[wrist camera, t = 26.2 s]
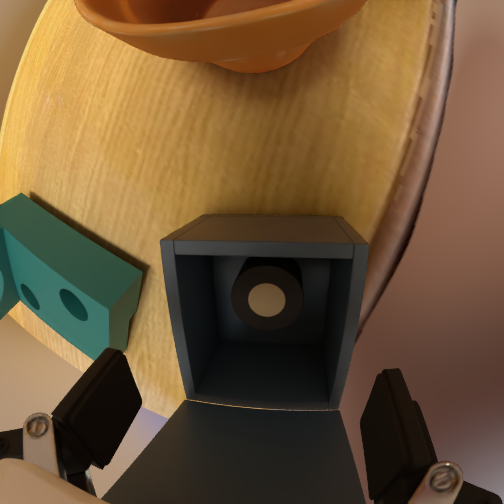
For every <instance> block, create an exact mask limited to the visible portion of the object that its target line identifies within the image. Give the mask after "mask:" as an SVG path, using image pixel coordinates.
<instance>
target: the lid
mask: <svg viewBox="0 0 504 504" xmlns="http://www.w3.org/2000/svg"><path fill="white" fill-rule="evenodd" d="M101 500H103V501H105V502H108V503H110V504H366V502H365V498H364V494H363V490H362V487H361V483H360V479H359V476H358V472H357V468H356V465H355V461H354V458H353V454H352V451H351V447H350V444H349V440H348V437H347V434H346V431H345V427H344V424H343V420H342V417H341V414H340V411H339V410H335V411H288V410H287V411H286V410H267V409H253V408H242V407H233V406H224V405H216V404H209V403H202V402H196V401H190V400H184V401H183V403H182V404H181V405H180V406H179V408H178V409H177V410H176V411H175V412H174V414H173V415H172V416H171V417H170V419H169V420H168V421H167V422H166V424H165V425H164V426H163V428H162V429H161V430H160V431H159V432H158V433H157V435H156V436H155V437H154V438H153V439H152V441H151V442H150V443H149V444H148V446H147V447H146V448H145V449H144V450H143V451H142V453H141V454H140V455H139V456H138V457H137V458H136V460H135V461H134V462H133V463H132V464H131V465H130V467H129V468H128V469H127V470H126V471H125V472H124V473H123V475H122V476H121V477H120V478H119V479H118V480H117V481H116V483H115V484H114V485H113V486H112V487H111V488H110V489H109V490H108V492H107V493H106V494H105V495H104V496H103V497H102V498H101Z"/></svg>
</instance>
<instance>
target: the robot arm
mask: <svg viewBox="0 0 504 504" xmlns="http://www.w3.org/2000/svg"><path fill="white" fill-rule="evenodd" d="M141 405H142V398H141V396H140V393H139V391H138V388H137V386H136V383H135V381H134V378H133V375H132V373H131V370H130V367H129V364H128V361H127V358H126V356H125V355H124V354H123V353H122V351H121V350H118V349H114V348H110V347H107V348H106V349H105V350H104V351H103V352H102V353H101V354H100V355H99V356H98V358H97V359H96V360H95V361H94V362H93V363H92V365H91V366H90V367H89V368H88V369H87V371H86V372H85V373H84V374H83V375H82V377H81V378H80V379H79V380H78V381H77V383H76V384H75V385H74V386H73V387H72V388H71V390H70V391H69V392H68V393H67V395H66V396H65V397H64V398H63V400H62V401H61V402H60V403H59V405H58V406H57V407H56V408H55V410H54V411H53V412H52V413H51V414H52V415H53V417H52V418H50V416H48V415H47V414H45V413H35V414H32V415H31V416H29V417H28V418H27V419H26V420H25V423H24V426H23V428H20V429H15V430H10V431H4V432H0V504H110V503H108V502H105V501H103V500H101V499H99V498H97V496H96V493H95V489H94V486H93V483H92V479H91V476H90V471H89V467H90V465H91V464H92V465H93V466H95V467H97V468H99V469H102V470H103V468H104V466H105V465H108V464H109V463H110V461H111V459H112V458H113V456H114V454H115V452H116V450H117V449H118V447H119V445H120V443H121V442H122V439H123V438H124V436H125V434H126V432H127V431H128V429H129V427H130V425H131V424H132V422H133V420H134V418H135V416H136V415H137V413H138V411H139V409H140V408H141ZM360 429H361V436H362V442H363V449H364V456H365V464H366V472H367V480H368V490H369V498H370V499H371V500H374V504H503V503H502V500H501V498H500V497H499V496H498V495H496V494H495V493H492V492H490V491H487V490H485V489H482V488H480V487H477V486H475V485H473V484H470V483H468V482H466V481H463V472H462V470H461V468H460V467H459V466H458V465H457V464H456V463H454V462H451V461H441V462H438V461H437V457H436V454H435V450H434V447H433V444H432V441H431V438H430V435H429V432H428V429H427V426H426V423H425V420H424V417H423V414H422V412H421V409H420V406H419V405H418V402H416V401H412V399H411V396H410V394H409V391H408V388H407V386H406V383H405V381H404V378H403V375H402V373H401V371H400V369H399V368H396V369H384V370H383V371H382V373H381V374H378V375H377V377H376V380H375V383H374V386H373V388H372V391H371V394H370V397H369V399H368V402H367V404H366V407H365V409H364V412H363V414H362V417H361V420H360Z"/></svg>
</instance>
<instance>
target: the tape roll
mask: <svg viewBox="0 0 504 504" xmlns="http://www.w3.org/2000/svg"><path fill="white" fill-rule="evenodd" d="M303 303H304V293H303V282H302V273H301V270H300V267H299V265H298V264H297V262H296V261H295V260H294V259H293V258H285V257H248V258H247V259H246V260H245V262H244V263H243V265H242V267H241V269H240V271H239V273H238V276H237V278H236V280H235V282H234V284H233V286H232V289H231V304H232V307H233V310H234V311H235V313H236V315H237V316H238V317H239V318H240V319H241V320H242V321H243V322H244V323H245V324H247V325H249V326H251V327H253V328H255V329H259V330H265V331H272V330H278V329H281V328H284V327H286V326H288V325H289V324H291V323H292V322H293V321H294V320H295V319H296V318H297V317H298V316H299V314H300V312H301V310H302V307H303Z"/></svg>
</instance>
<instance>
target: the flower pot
mask: <svg viewBox="0 0 504 504" xmlns="http://www.w3.org/2000/svg"><path fill="white" fill-rule="evenodd" d="M366 1H367V0H74V2H75V5H76V7H77V10H78V12H79V13H80V14H81V16H82V17H83V18H84V19H85V20H86V21H87V22H89V23H90V24H92V25H93V26H95V27H97V28H99V29H101V30H103V31H105V32H107V33H109V34H111V35H112V36H114V37H116V38H118V39H120V40H122V41H124V42H126V43H128V44H129V45H132V46H134V47H136V48H138V49H140V50H143V51H145V52H147V53H150V54H153V55H156V56H159V57H163V58H168V59H174V60H180V61H190V62H211V63H214V64H216V65H219V66H221V67H224V68H227V69H229V70H233V71H236V72H242V73H263V72H268V71H272V70H275V69H278V68H281V67H283V66H285V65H287V64H289V63H291V62H292V61H294V60H295V59H297V58H298V57H299V56H300V55H301V54H302V53H303V52H304V51H305V50H306V49H307V48H308V46H309V45H310V44H311V43H312V42H313V41H314V40H316V39H318V38H321V37H323V36H325V35H326V34H328V33H330V32H332V31H334V30H335V29H337V28H339V27H340V26H342V25H343V24H345V23H346V22H347V21H348V20H350V19H351V18H352V17H353V16H354V15H355V14H356V13H357V12H358V11H359V10H360V9H361V8H362V6H363V5H364V4H365V3H366Z"/></svg>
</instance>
